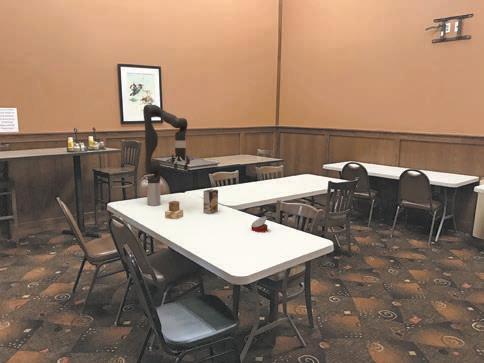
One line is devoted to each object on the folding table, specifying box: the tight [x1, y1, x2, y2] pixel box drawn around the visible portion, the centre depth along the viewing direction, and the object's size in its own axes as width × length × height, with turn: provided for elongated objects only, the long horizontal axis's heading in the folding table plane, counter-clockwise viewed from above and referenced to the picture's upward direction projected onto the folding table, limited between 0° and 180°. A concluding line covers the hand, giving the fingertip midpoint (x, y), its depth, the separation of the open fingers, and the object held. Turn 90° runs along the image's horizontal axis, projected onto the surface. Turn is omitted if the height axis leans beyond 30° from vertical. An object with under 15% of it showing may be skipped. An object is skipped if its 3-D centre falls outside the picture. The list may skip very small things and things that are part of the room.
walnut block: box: [168, 200, 180, 212], centre depth 275 cm, size 5×5×6 cm
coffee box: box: [202, 189, 219, 215], centre depth 290 cm, size 9×6×16 cm
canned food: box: [250, 216, 268, 233], centre depth 249 cm, size 11×10×10 cm
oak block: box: [164, 208, 184, 220], centre depth 276 cm, size 9×9×5 cm
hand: (180, 169), depth 288 cm, fingers open, 8 cm apart
